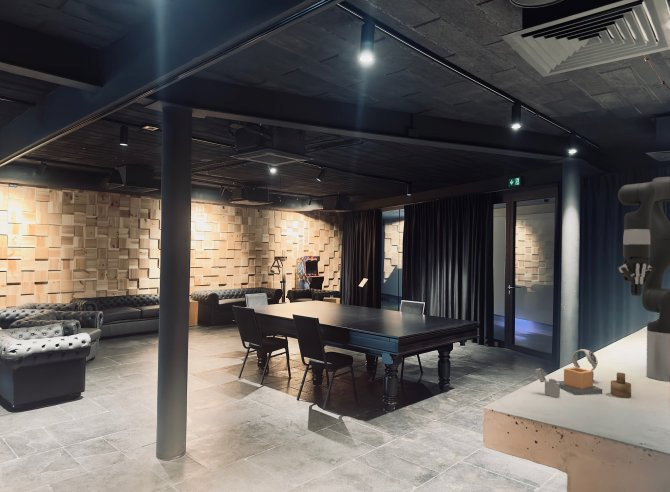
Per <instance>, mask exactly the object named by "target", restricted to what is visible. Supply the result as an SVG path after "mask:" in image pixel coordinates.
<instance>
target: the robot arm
mask: <svg viewBox="0 0 670 492" xmlns="http://www.w3.org/2000/svg"><path fill="white" fill-rule="evenodd" d="M617 197H618V198H617V199H618V200H619V202H620V203H621V204H622V205H624V206H639V205H640V207H639V208H638V209H636V210H634V211H629V212H627V213H625V214H624V217H623V218H624V219H623V221H624V223H623V224H624V228H623V229H624V231H623V235H622V236H623V238H622V239H623V242H622V243H623V247H622V248H623V249H622V251H623V252H622V256H623V258H624V260H623V265H621V266H618V267H617V268H616V269H617V271H618V272H619V274H620V276H621V277H622V278H623V280H624V281H625V282H626V283H629V284H630V293H631V295H632V296H639V297H640V296H641V303H642V307H643V308H644V309H645V310H646V311H648V312H651V313H659V316H658V318H657V319H656V320H653V321H649V322H647V324H646V377H647V378H650V379H653V380H658V381H665V382H670V288H663V287H662V283H663V278H664V275H665V273H666V272H667V270H668V269H669V267H670V220H669V219H668V217H667V216H666V214H665V212H664V208H663V202H670V176H662V177H661V176H660V177H655V178H653V179H652V181H649V182H648V181H647V182H641V183H631V184H624V185H622V186H621V188H620V189H619V190H618V192H617ZM642 285H643V286H642Z"/></svg>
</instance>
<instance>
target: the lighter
mask: <svg viewBox="0 0 670 492" xmlns="http://www.w3.org/2000/svg"><path fill="white" fill-rule="evenodd" d="M535 374H536V375H537V377H538V379H539V382H540V383H543V382H544V395H545V396H548V397H552V398H557V399H560V396H561V388H560V383H557V381H558V380H556V379H555V378H549V379H548V380H547V379H546V376H545V375H544V372H543V370H542V368H541V367H540V368H536V369H535Z"/></svg>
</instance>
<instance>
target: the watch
mask: <svg viewBox="0 0 670 492" xmlns="http://www.w3.org/2000/svg"><path fill="white" fill-rule="evenodd" d="M578 352H584V354H585V357H586V359H587V362H588V363H589V364H590V365H591V366H592V368H591V370H590V371H593V372H594V370H595V369H596V368H597V366H598V358H597V357H596V355H595V353H594V352H593V351H592V350H591V351H590V350H589V349H585V348H584V349H583V348H581V349H578V350H576V351H574V352H573V353H572V356H571V361H572V364H573V365H574V367H577V368H581V366H580V364H579V362H578V359H577V358H576V355H577V353H578Z"/></svg>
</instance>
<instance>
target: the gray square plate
mask: <svg viewBox="0 0 670 492" xmlns="http://www.w3.org/2000/svg"><path fill="white" fill-rule="evenodd" d="M556 381H557V383H560V390H561V389H562V390H563V391H566V392H567V393H570V394H572V395H573V396H574V395H576V396H577V395H580V396H581V395H602V394H603V388H600V387H599V386H595V385H593V386H592V387H588V388H583V389H580V388H577V387H573V386H570V385H566V384H564V380H556Z"/></svg>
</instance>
